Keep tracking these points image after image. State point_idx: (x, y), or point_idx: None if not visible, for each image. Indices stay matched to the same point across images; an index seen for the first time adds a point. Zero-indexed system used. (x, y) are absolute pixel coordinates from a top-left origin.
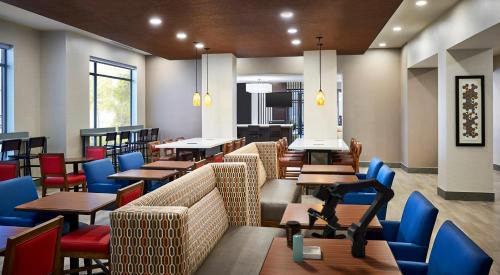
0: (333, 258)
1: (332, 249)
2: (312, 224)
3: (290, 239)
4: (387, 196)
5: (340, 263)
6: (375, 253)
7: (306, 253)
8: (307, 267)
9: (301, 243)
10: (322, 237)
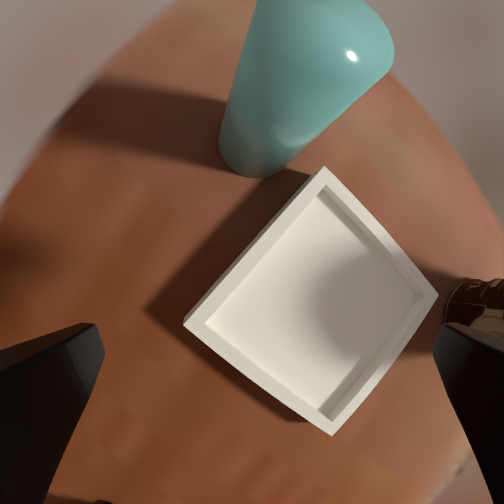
0: (143, 404)
1: (288, 497)
2: (490, 424)
3: (495, 283)
4: None
5: None
6: None
7: (275, 234)
8: (118, 111)
9: (240, 58)
10: (72, 331)
